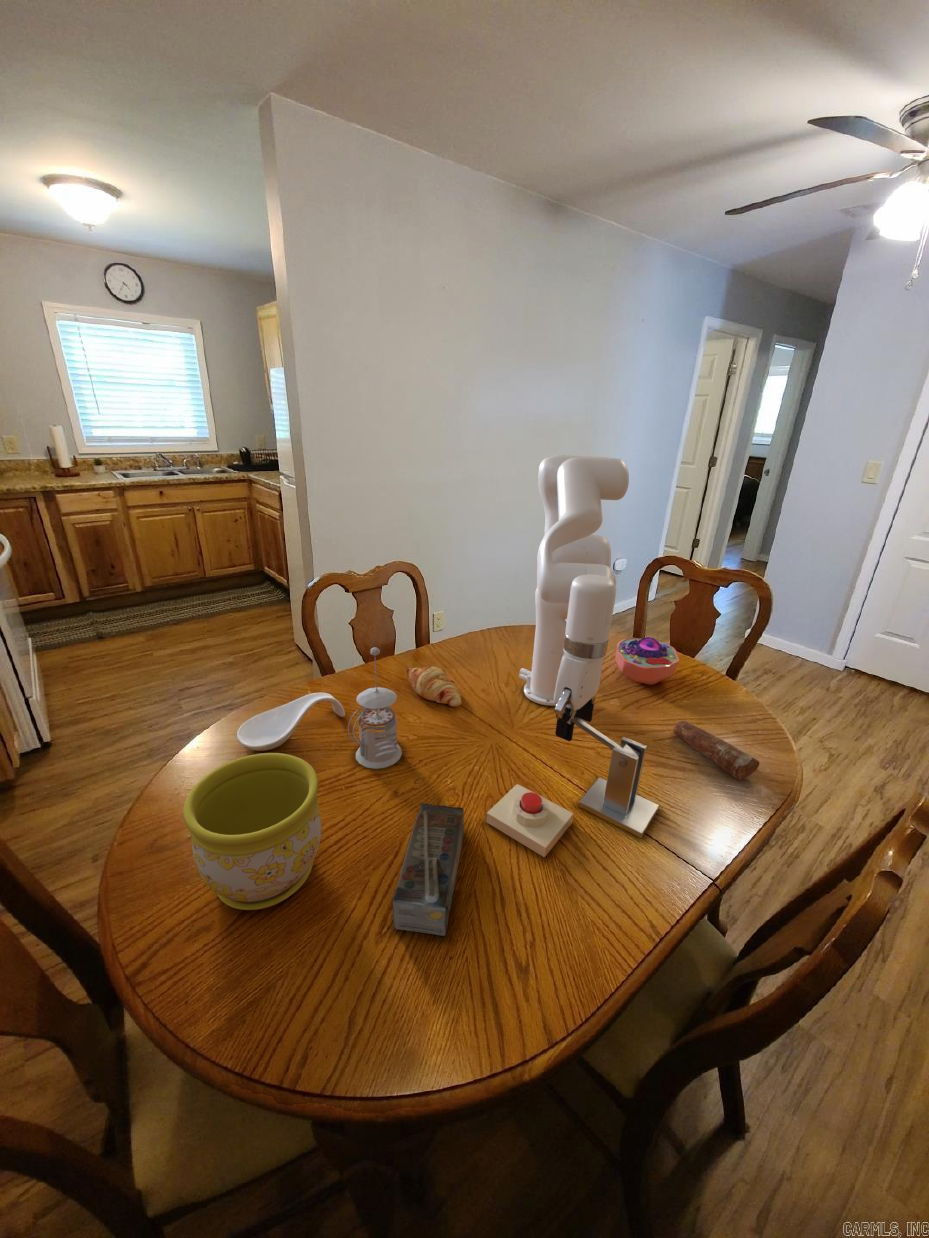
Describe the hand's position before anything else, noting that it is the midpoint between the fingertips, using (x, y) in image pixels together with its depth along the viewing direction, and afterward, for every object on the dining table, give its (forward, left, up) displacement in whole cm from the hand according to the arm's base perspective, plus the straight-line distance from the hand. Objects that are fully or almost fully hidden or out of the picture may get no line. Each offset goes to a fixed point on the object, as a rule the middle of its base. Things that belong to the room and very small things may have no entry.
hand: (573, 727), depth 95 cm
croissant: (-43, +8, -13) cm, 46 cm away
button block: (0, -14, -13) cm, 19 cm away
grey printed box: (-6, -34, -13) cm, 37 cm away
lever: (+4, 0, -1) cm, 4 cm away
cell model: (-4, +54, -13) cm, 56 cm away
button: (0, -14, -9) cm, 17 cm away
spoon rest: (-55, -25, -13) cm, 62 cm away
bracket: (+11, 0, -13) cm, 17 cm away
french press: (-35, -19, -13) cm, 42 cm away
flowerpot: (-26, -50, -13) cm, 58 cm away
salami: (+20, +28, -13) cm, 37 cm away
